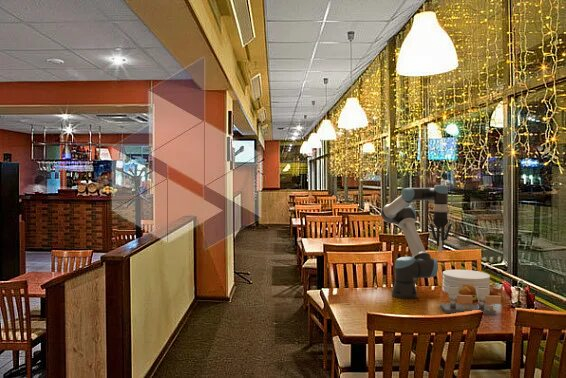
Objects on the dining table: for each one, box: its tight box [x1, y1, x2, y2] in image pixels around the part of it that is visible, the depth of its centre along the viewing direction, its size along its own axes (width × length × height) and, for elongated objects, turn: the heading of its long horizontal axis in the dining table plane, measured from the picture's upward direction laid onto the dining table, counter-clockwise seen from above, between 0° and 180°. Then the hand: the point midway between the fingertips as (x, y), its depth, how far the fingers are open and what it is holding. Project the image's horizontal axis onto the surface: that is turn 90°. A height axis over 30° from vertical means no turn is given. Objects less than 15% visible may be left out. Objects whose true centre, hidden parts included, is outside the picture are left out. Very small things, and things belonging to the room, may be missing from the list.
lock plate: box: [439, 299, 497, 316], centre depth 251 cm, size 26×12×6 cm, turn 85°
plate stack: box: [442, 269, 491, 295], centre depth 294 cm, size 28×28×12 cm
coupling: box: [447, 286, 474, 304], centre depth 251 cm, size 12×4×9 cm, turn 80°
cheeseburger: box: [459, 285, 477, 302], centre depth 274 cm, size 10×11×10 cm
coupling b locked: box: [476, 287, 502, 305], centre depth 250 cm, size 12×4×9 cm, turn 85°
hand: (440, 251), depth 268 cm, fingers closed
